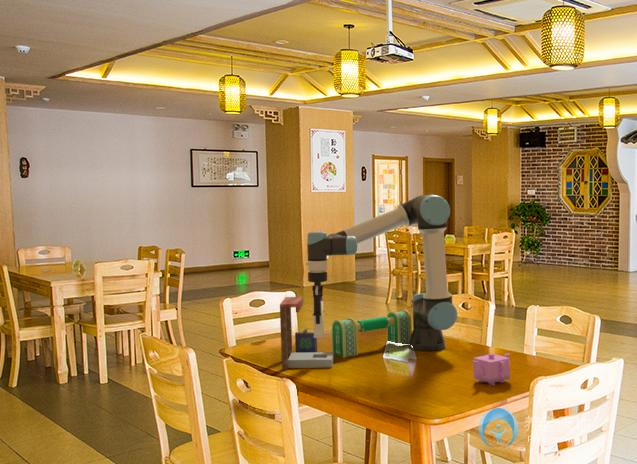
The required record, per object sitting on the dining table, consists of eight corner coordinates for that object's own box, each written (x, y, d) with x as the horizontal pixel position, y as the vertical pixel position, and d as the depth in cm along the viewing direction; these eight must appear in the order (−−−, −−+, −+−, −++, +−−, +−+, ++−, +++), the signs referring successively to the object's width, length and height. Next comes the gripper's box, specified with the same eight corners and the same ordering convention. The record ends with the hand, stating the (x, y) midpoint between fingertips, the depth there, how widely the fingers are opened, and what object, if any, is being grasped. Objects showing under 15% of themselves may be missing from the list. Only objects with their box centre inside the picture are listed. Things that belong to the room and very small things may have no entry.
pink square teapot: (494, 373, 244) (493, 346, 243) (523, 381, 232) (522, 353, 232) (457, 381, 234) (457, 354, 233) (486, 390, 223) (485, 361, 222)
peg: (324, 336, 266) (323, 300, 265) (323, 338, 262) (322, 302, 261) (314, 336, 266) (313, 300, 265) (313, 338, 262) (312, 302, 261)
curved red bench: (304, 358, 274) (302, 296, 273) (300, 369, 256) (298, 304, 255) (287, 358, 275) (285, 296, 273) (282, 369, 257) (279, 304, 255)
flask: (317, 352, 283) (316, 327, 283) (317, 354, 280) (316, 328, 280) (295, 352, 284) (294, 327, 283) (295, 354, 281) (294, 329, 280)
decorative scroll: (343, 358, 273) (342, 321, 272) (332, 354, 280) (331, 318, 279) (412, 345, 292) (411, 310, 291) (399, 341, 299) (399, 308, 298)
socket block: (333, 359, 270) (333, 352, 270) (332, 367, 258) (331, 359, 258) (291, 360, 272) (291, 352, 271) (288, 367, 260) (287, 360, 260)
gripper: (309, 269, 271) (311, 326, 273) (305, 274, 254) (307, 335, 256) (328, 268, 271) (329, 326, 272) (325, 273, 254) (326, 335, 255)
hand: (318, 330), depth 264 cm, fingers closed on peg, 4 cm apart
